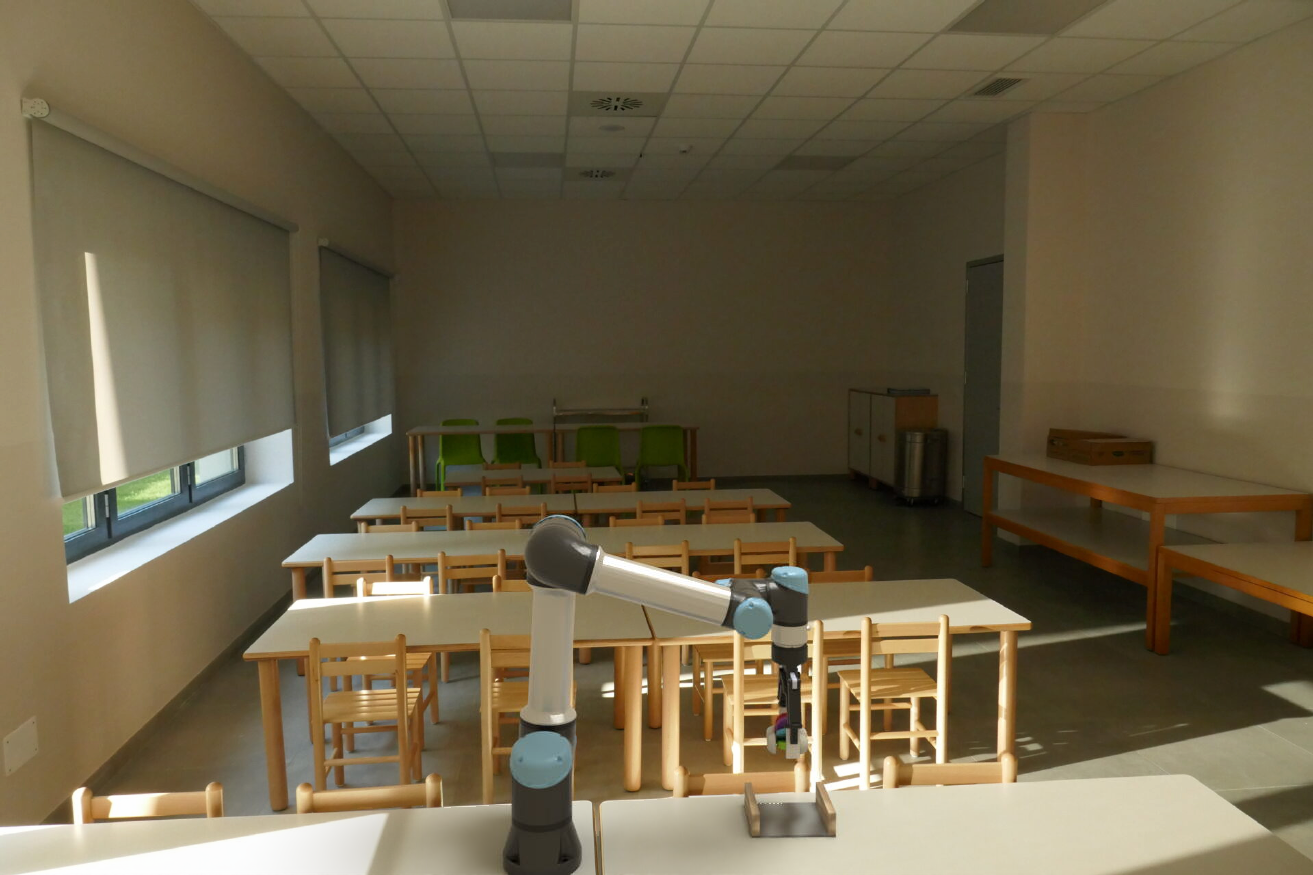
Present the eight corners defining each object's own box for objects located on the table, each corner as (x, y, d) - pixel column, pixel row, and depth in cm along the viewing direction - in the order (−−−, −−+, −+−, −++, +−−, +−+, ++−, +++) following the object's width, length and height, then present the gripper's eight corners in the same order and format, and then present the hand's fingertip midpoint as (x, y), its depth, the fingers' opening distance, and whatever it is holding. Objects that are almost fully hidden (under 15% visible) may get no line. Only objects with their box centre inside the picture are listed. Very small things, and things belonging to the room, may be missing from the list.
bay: (752, 837, 189) (752, 813, 189) (744, 804, 203) (744, 782, 203) (835, 836, 190) (836, 812, 189) (822, 803, 204) (822, 781, 203)
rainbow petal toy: (806, 740, 199) (806, 707, 199) (808, 759, 190) (809, 724, 189) (766, 738, 200) (766, 705, 200) (766, 758, 191) (766, 723, 190)
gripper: (817, 659, 182) (816, 770, 184) (798, 626, 204) (798, 726, 206) (779, 659, 182) (778, 770, 184) (764, 627, 204) (764, 726, 206)
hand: (788, 747), depth 195 cm, fingers closed on rainbow petal toy, 10 cm apart
